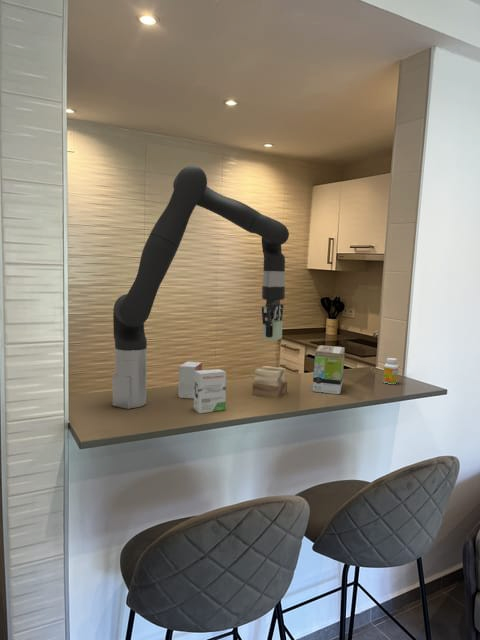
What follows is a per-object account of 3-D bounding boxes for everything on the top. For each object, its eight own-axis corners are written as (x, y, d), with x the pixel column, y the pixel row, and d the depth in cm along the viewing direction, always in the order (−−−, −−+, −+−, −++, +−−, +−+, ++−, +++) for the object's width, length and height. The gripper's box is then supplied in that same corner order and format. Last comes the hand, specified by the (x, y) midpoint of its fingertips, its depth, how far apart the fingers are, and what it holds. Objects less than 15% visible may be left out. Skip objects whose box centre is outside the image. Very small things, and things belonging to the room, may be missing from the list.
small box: (194, 399, 145) (195, 367, 144) (177, 397, 146) (178, 365, 145) (201, 392, 153) (202, 362, 151) (185, 391, 154) (186, 361, 153)
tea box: (341, 395, 156) (343, 352, 155) (311, 392, 159) (314, 350, 157) (342, 384, 171) (345, 346, 169) (316, 382, 173) (318, 344, 172)
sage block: (276, 340, 148) (277, 322, 148) (262, 338, 150) (262, 321, 150) (281, 338, 153) (282, 320, 152) (268, 337, 155) (268, 319, 154)
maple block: (276, 386, 149) (276, 373, 148) (254, 383, 152) (254, 369, 152) (285, 381, 156) (285, 368, 155) (264, 378, 159) (264, 365, 159)
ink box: (219, 405, 139) (220, 368, 138) (226, 410, 134) (227, 371, 133) (192, 408, 135) (193, 369, 134) (198, 413, 131) (199, 373, 129)
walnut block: (277, 400, 148) (277, 386, 148) (252, 396, 152) (252, 383, 152) (286, 394, 156) (287, 381, 156) (262, 390, 160) (263, 377, 160)
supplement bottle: (380, 382, 177) (381, 357, 176) (391, 381, 179) (393, 357, 178) (388, 385, 172) (390, 360, 171) (400, 384, 174) (402, 360, 173)
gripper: (271, 284, 157) (270, 332, 159) (254, 285, 145) (253, 337, 147) (291, 284, 154) (290, 334, 156) (276, 286, 141) (274, 339, 143)
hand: (272, 335), depth 151 cm, fingers closed on sage block, 5 cm apart
